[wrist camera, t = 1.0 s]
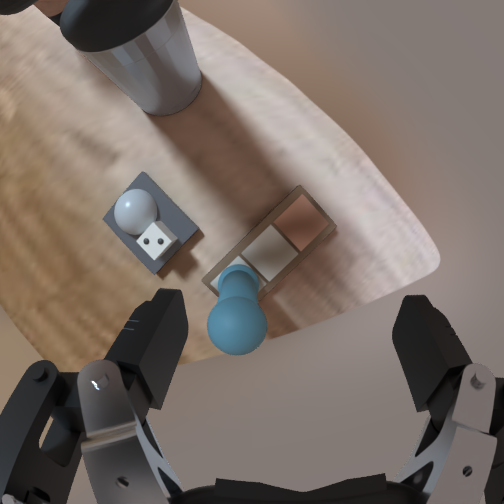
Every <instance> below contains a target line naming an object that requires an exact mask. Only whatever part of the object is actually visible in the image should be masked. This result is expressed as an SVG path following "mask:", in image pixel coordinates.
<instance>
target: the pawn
mask: <svg viewBox="0 0 504 504" xmlns="http://www.w3.org/2000/svg"><path fill="white" fill-rule="evenodd" d="M218 291H219V298H218V302H217V304H216V305H215V306H214V308H213V309H212V310H211V312H210V314H209V317H208V322H207V330H208V334H209V337H210V339H211V341H212V342H213V344H214V345H215V346H216V347H217V348H218V349H220V350H221V351H223V352H225V353H227V354H231V355H244V354H247V353H250V352H252V351H254V350H255V349H256V348H257V347H259V346H260V344H261V343H262V342H263V340H264V338H265V335H266V331H267V321H266V317H265V314H264V312H263V310H262V309H261V308H260V307H259V305H258V300H257V294H258V291H259V281H258V277H257V275H256V273H255V272H254V271H253V270H252V269H251V268H250V267H248V266H246V265H242V264H235V265H231V266H229V267H227V268H226V269H225V270H224V271H223V272H222V273H221V275H220V277H219V280H218Z"/></svg>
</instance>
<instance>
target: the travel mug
mask: <svg viewBox="0 0 504 504" xmlns="http://www.w3.org/2000/svg"><path fill="white" fill-rule="evenodd" d="M68 1H69V0H38V1H37V2H35V3H34V4H33V5H35V6H36V7H37V8H38V9H39V10H40V11H41V12H42V13H43V14H44V15H46V16H47V17H48V18H49V19H51V20H52V21H53V22H54V23H55V24H57V25H58V26H59V27H60V18H61V14H62V12H63V9H64V7H65V5H66V4H67V2H68Z"/></svg>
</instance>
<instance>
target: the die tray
mask: <svg viewBox="0 0 504 504" xmlns="http://www.w3.org/2000/svg"><path fill="white" fill-rule="evenodd" d="M103 220H104V221H105V222H106V224H107V225H108V226H109V227H110V228H111V229H112V230H113V231H114V233H115V234H116V235H117V236H118V237H119V238H120V239H121V240H122V242H123V243H124V244H125V245H126V246H127V247H128V248H129V249H130V250H131V251H132V252H133V253H134V255H135V256H136V257H137V258H138V259H139V260H140V261H141V262H142V263H143V264H144V265H145V266H146V267H147V268H148V269H149V270H150V271H151V272H152V273H153V274H154V275H155V274H156V273H157V272H158V271H159V270H160V269H161V268H162V267H163V266H164V265H165V263H166V262H167V261H168V260H169V259H170V258H171V257H172V256H173V255H174V254H175V253H176V252H177V251H178V250H179V249H180V247H181V246H182V245H183V244H184V243H185V242H186V241H187V240H188V239H189V238H190V237H191V236H192V235H193V234H194V233H195V232H196V231H197V230H198V229H199V227H198V226H197V225H196V224H195V223H194V222H193V221H192V220H191V219H190V218H189V217H188V216H187V215H186V214H185V213H184V212H183V211H182V210H181V209H180V208H179V207H178V206H177V205H176V204H175V203H174V202H173V201H172V200H171V199H170V198H169V197H168V196H167V194H166V193H165V192H164V191H163V190H162V189H161V188H160V187H159V186H158V185H157V184H156V183H155V182H154V181H153V180H152V179H151V178H150V177H149V176H148V175H147V174H146V173H145V172H141V173H140V174H139V175H138V177H137V178H136V179H135V180H134V181H133V182H132V183H131V185H130V186H129V187H128V188H127V189H126V190H125V192H124V193H123V194H122V195H121V196H120V198H119V199H118V200H117V201H116V202H115V204H114V205H113V206H112V207H111V209H110V210H109V211H108V212H107V214H106V215H105V216H104V218H103Z"/></svg>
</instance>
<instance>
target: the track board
mask: <svg viewBox="0 0 504 504" xmlns="http://www.w3.org/2000/svg"><path fill="white" fill-rule="evenodd" d="M336 227H337V225H336V224H335V223H334V222H333V221H332V219H331V218H330V217H329V216H328V215H327V214H326V213H325V211H324V210H323V209H322V208H321V207H320V206H319V205H318V204H317V202H316V201H315V200H314V199H313V198H312V197H311V196H310V195H309V194H308V193H307V192H306V190H305V189H304V188H303V187H302V186H301V185H298V186H297V187H296V188H295V189H294V190H293V191H292V192H291V193H290V194H289V195H288V196H287V197H286V198H285V199H284V200H283V201H282V202H280V203H279V204H278V205H277V206H276V207H275V208H274V209H273V210H272V211H271V212H270V213H269V214H268V215H267V216H266V217H265V218H264V219H263V220H262V221H261V222H260V223H259V224H258V225H257V226H256V227H255V228H254V229H252V230H251V231H250V232H249V233H248V234H247V235H246V236H245V237H244V238H243V239H242V240H241V241H240V242H239V243H238V244H237V245H236V246H235V247H234V248H233V249H232V250H231V251H230V252H229V253H228V254H227V255H226V256H225V257H224V258H223V259H222V260H221V261H220V262H219V263H218V264H217V265H216V266H215V267H214V268H213V269H212V270H211V271H210V272H209V273H208V274H207V275H206V276H205V277H204V278H203V279H202V280H201V281H202V282H203V283H204V284H205V285H206V286H207V287H208V288H209V289H210V290H211V291H212V292H213V293H214V294H215V295H216V296H217V297H219V291H218V280H219V277H220V275H221V273H222V272H223V271H224V270H225V269H226V268H227V267H229V266H231V265H235V264H242V265H246V266H248V267H250V268H251V269H252V270H253V271H254V272H255V273H256V275H257V277H258V281H259V291H258V294H257V300H258V302H259V301H260V300H261V299H262V298H263V297H264V296H265V295H266V294H267V293H268V292H269V291H270V290H271V289H273V288H274V287H275V286H276V285H277V284H278V283H279V282H280V281H281V280H282V279H283V278H284V277H285V276H286V275H287V274H288V273H289V272H291V271H292V270H293V269H294V268H295V267H296V266H297V265H298V264H299V263H300V262H301V261H302V260H303V259H304V258H305V257H306V256H307V255H308V254H309V253H310V252H311V251H312V250H313V249H314V248H315V247H316V246H317V245H318V244H319V243H320V242H321V241H323V240H324V239H325V238H326V237H327V236H328V235H329V234H330V233H331V232H332V231H333V230H334V229H335V228H336Z"/></svg>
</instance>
